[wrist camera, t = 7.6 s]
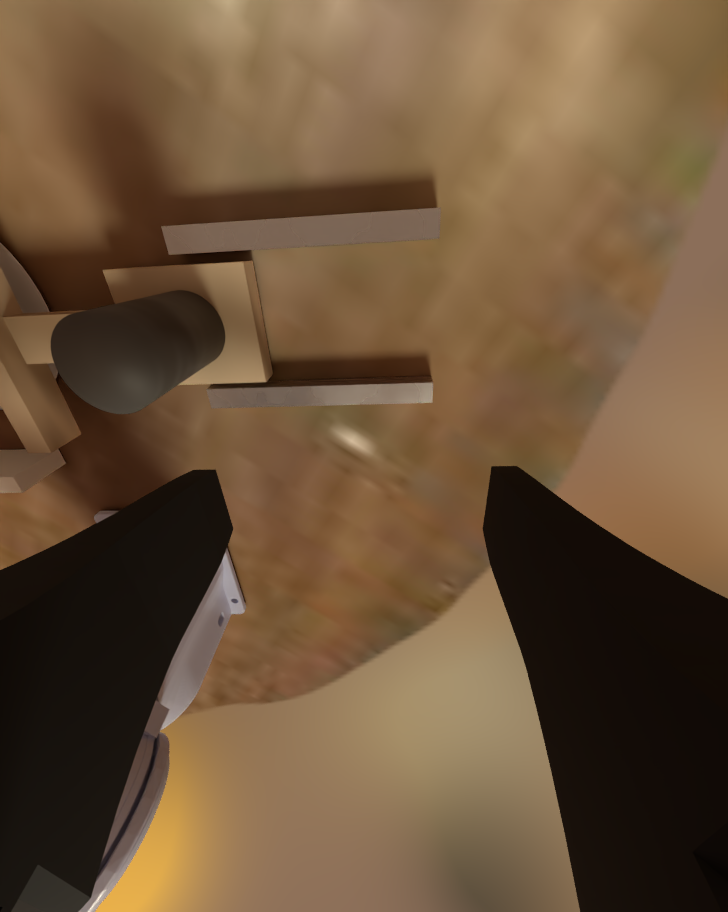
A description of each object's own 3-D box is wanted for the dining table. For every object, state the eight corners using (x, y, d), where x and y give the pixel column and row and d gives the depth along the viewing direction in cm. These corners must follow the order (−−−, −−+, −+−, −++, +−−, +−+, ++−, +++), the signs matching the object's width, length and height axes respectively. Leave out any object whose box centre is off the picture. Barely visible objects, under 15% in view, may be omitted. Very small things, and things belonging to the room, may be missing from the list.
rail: (430, 395, 19) (432, 402, 18) (219, 400, 19) (211, 408, 19) (437, 209, 15) (440, 207, 14) (173, 227, 16) (160, 226, 15)
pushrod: (281, 420, 20) (234, 496, 14) (77, 424, 20) (-50, 498, 15) (239, 188, 15) (138, 153, 9) (-28, 208, 15) (-283, 188, 10)
